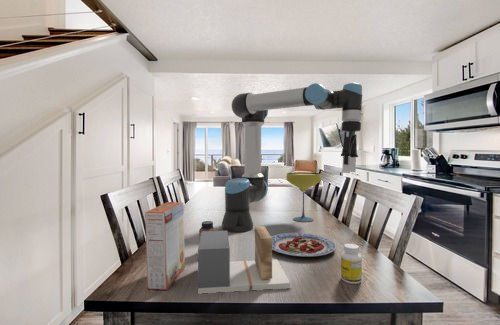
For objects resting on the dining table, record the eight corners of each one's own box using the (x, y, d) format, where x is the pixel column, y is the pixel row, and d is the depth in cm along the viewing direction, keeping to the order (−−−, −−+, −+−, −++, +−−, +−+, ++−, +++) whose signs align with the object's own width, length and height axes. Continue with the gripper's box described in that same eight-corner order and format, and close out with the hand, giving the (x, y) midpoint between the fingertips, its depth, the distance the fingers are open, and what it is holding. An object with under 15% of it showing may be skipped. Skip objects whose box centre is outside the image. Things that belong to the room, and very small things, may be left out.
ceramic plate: (293, 234, 121) (293, 227, 121) (348, 248, 103) (348, 240, 102) (252, 248, 103) (252, 240, 103) (310, 269, 85) (310, 259, 84)
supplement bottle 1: (218, 251, 99) (218, 220, 99) (211, 257, 93) (211, 224, 93) (204, 249, 101) (204, 219, 101) (196, 255, 95) (195, 223, 95)
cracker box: (166, 267, 85) (166, 201, 84) (185, 268, 84) (184, 201, 84) (145, 290, 71) (144, 211, 70) (167, 291, 70) (166, 211, 70)
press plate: (264, 260, 85) (264, 226, 85) (272, 278, 73) (272, 238, 73) (254, 261, 85) (254, 226, 84) (261, 279, 73) (261, 238, 72)
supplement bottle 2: (337, 276, 79) (338, 242, 79) (355, 275, 80) (356, 242, 79) (346, 285, 74) (346, 249, 73) (365, 284, 74) (365, 248, 74)
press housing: (277, 263, 88) (277, 228, 87) (290, 288, 72) (290, 245, 71) (201, 267, 85) (201, 231, 84) (198, 294, 69) (198, 249, 69)
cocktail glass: (320, 216, 153) (320, 172, 152) (321, 224, 135) (321, 175, 135) (287, 215, 157) (288, 172, 156) (284, 222, 139) (284, 174, 139)
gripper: (355, 116, 100) (353, 174, 100) (365, 125, 122) (363, 172, 122) (335, 117, 104) (332, 172, 104) (347, 125, 125) (345, 171, 126)
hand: (349, 172), depth 113 cm, fingers open, 13 cm apart
